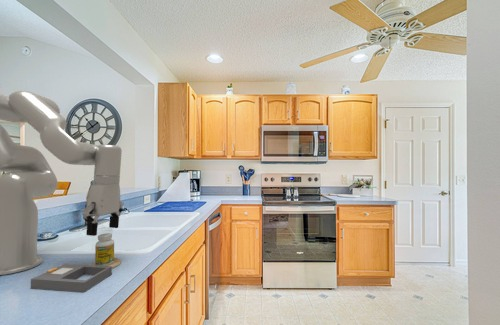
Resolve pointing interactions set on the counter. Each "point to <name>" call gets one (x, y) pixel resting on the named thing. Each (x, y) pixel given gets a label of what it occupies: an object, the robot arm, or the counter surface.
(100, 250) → the supplement bottle
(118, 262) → the cork coaster
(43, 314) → the counter surface
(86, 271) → the gray rectangular fixture
